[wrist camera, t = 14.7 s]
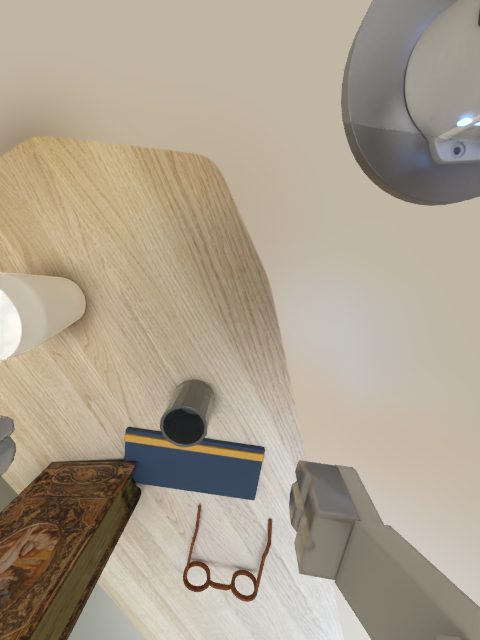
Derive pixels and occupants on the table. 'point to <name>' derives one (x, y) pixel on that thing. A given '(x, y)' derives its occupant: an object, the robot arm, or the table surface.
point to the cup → (35, 310)
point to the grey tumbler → (188, 414)
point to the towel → (194, 464)
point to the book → (60, 545)
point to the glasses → (239, 572)
